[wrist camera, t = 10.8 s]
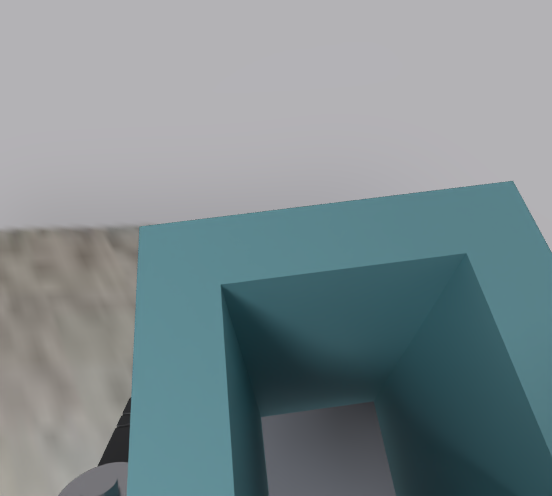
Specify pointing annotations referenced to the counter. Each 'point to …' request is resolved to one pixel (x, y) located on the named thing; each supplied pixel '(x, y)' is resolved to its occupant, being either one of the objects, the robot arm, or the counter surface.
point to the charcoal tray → (327, 453)
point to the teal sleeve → (348, 341)
